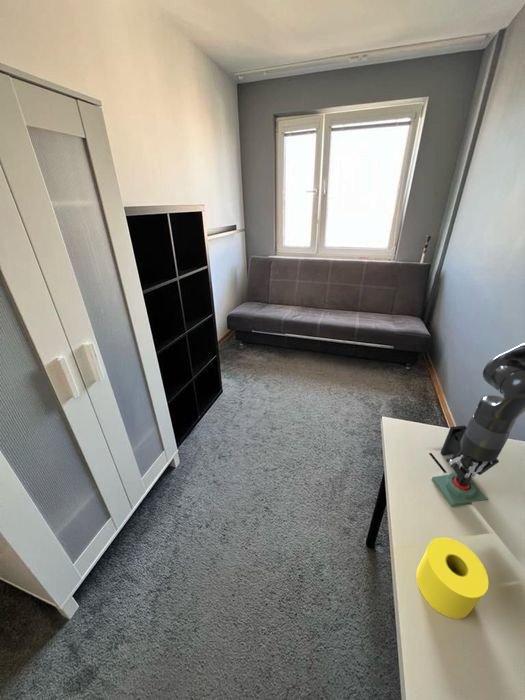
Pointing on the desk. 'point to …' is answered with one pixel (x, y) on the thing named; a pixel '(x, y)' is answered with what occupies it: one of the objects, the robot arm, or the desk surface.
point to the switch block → (457, 491)
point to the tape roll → (451, 578)
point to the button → (460, 485)
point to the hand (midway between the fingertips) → (461, 482)
